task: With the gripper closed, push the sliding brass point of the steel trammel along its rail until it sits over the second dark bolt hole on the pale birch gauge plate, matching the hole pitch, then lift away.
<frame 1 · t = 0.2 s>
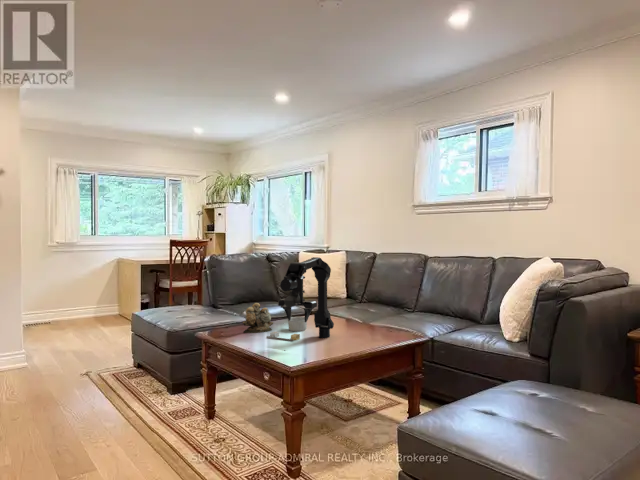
hand: (297, 321, 214), 14 cm above the table, tool pointing down, fingers open, 9 cm apart
owl figurine: (257, 333, 254), on the table
gauge plate: (284, 340, 236), on the table
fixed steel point: (274, 337, 238), resting on gauge plate
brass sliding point: (294, 337, 231), point 3 cm above the table, slide at 4.0 cm
grey rounded container: (296, 332, 257), on the table
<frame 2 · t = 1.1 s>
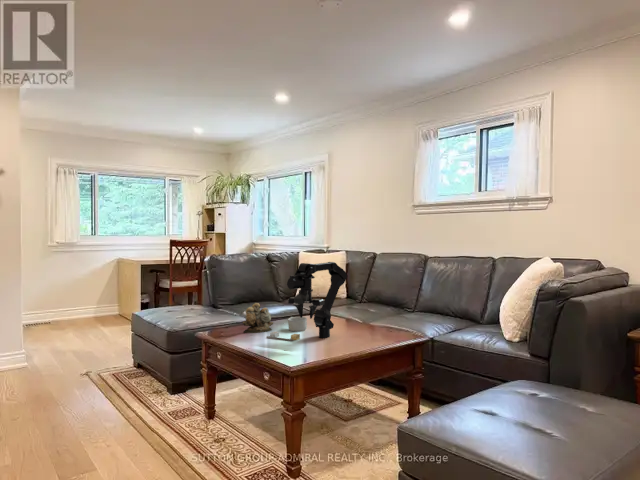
hand: (306, 318, 229), 13 cm above the table, tool pointing down, fingers open, 5 cm apart
nothing on the table moved.
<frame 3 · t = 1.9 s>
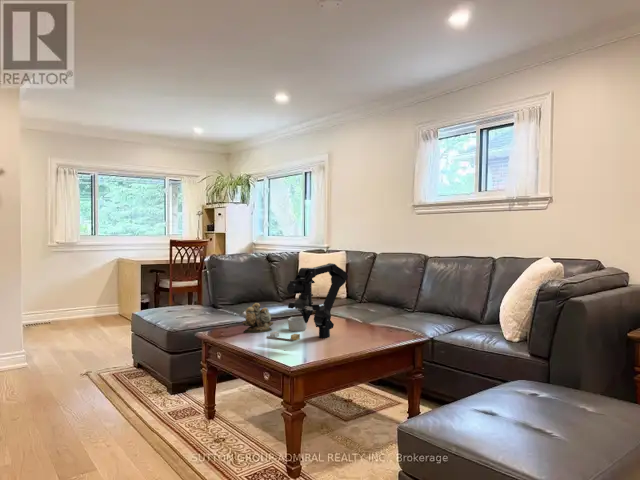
hand: (306, 322, 229), 11 cm above the table, tool pointing down, fingers closed
nothing on the table moved.
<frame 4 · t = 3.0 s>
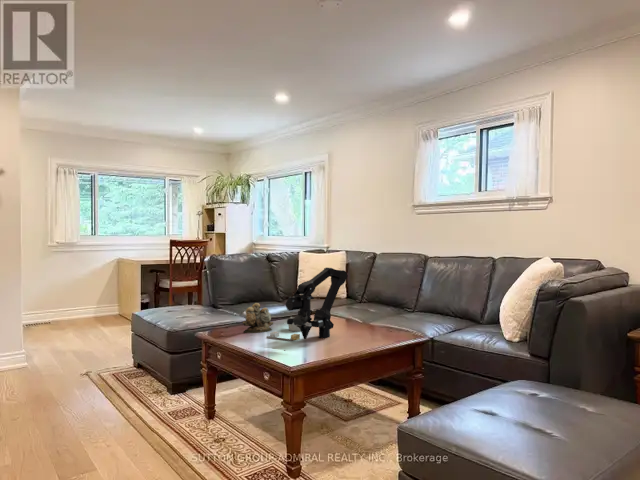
hand: (305, 338, 229), 2 cm above the table, tool pointing down, fingers closed
nothing on the table moved.
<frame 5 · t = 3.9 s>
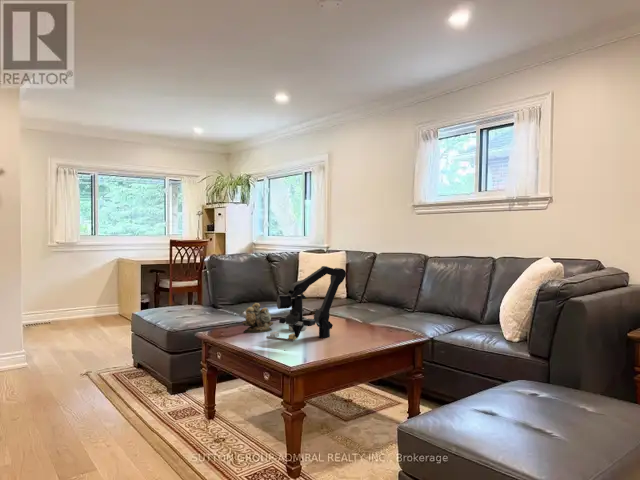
hand: (297, 337, 231), 2 cm above the table, tool pointing down, fingers closed
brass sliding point: (292, 337, 232), point 3 cm above the table, slide at 2.6 cm, touching gripper
everything else where it was.
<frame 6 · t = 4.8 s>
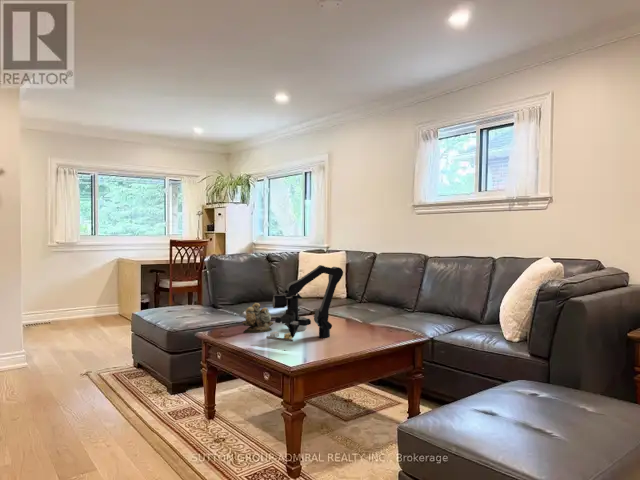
hand: (292, 337, 233), 2 cm above the table, tool pointing down, fingers closed
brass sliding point: (288, 336, 233), point 3 cm above the table, slide at 0.0 cm, touching gripper
everything else where it was.
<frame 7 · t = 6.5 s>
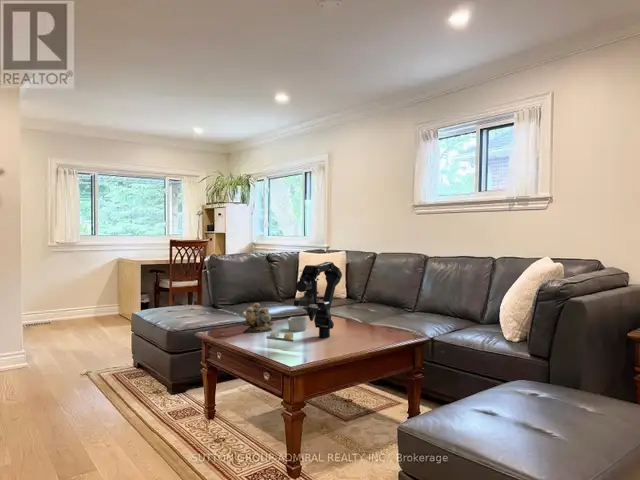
hand: (311, 320, 226), 12 cm above the table, tool pointing down, fingers closed
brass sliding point: (288, 336, 233), point 3 cm above the table, slide at -0.1 cm
everything else where it was.
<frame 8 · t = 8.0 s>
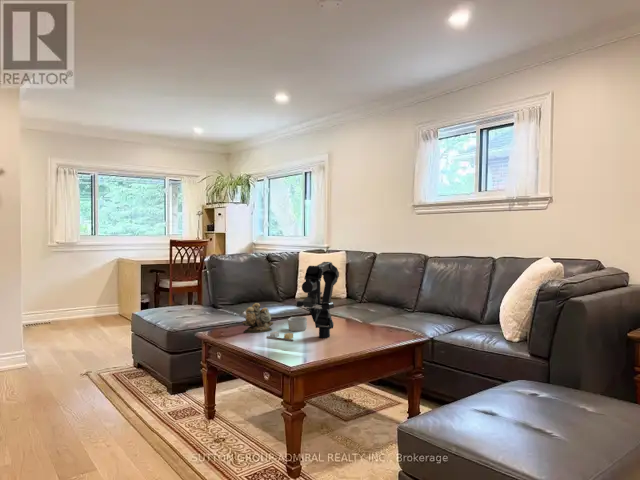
hand: (314, 321, 224), 12 cm above the table, tool pointing down, fingers closed
nothing on the table moved.
at the end: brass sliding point slide at -0.1 cm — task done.
